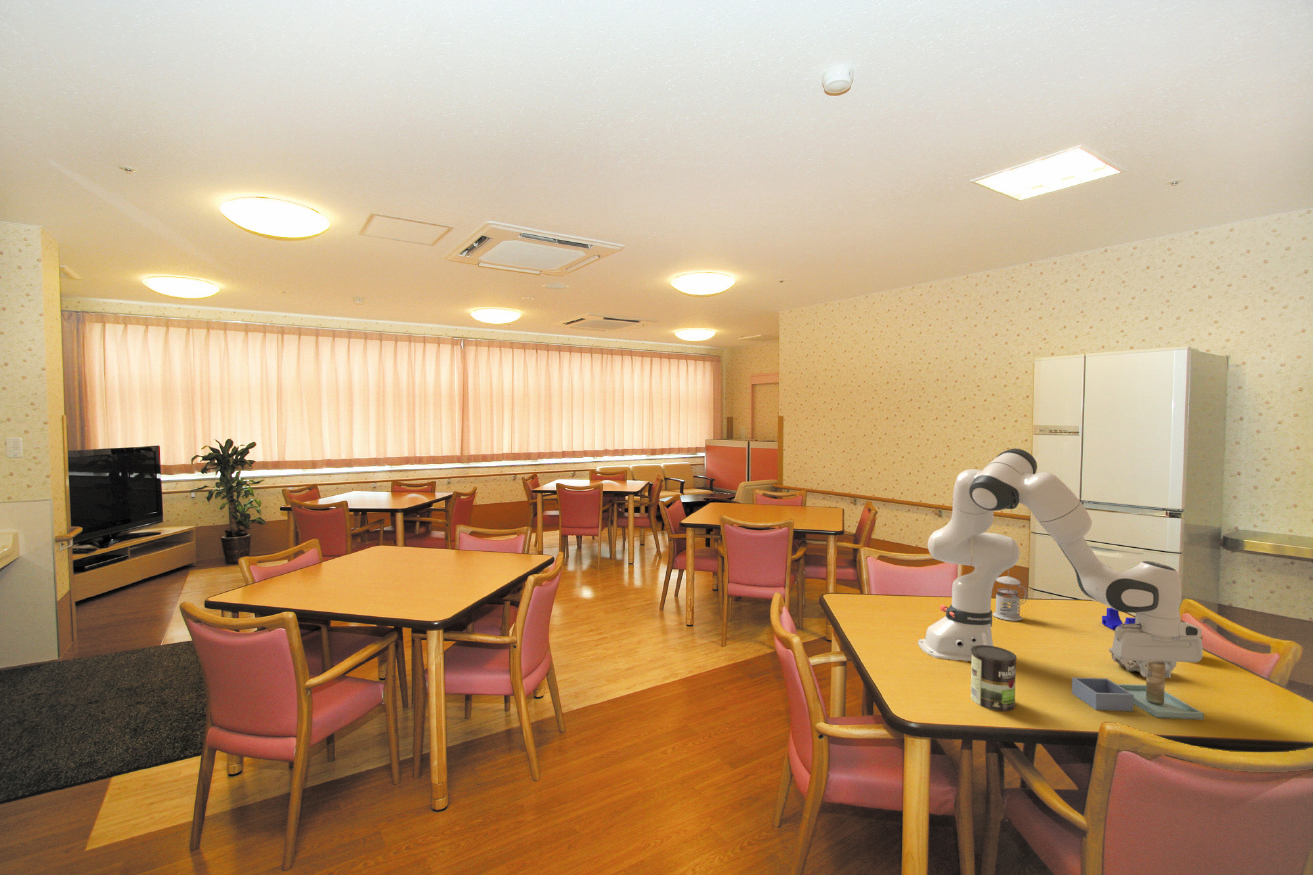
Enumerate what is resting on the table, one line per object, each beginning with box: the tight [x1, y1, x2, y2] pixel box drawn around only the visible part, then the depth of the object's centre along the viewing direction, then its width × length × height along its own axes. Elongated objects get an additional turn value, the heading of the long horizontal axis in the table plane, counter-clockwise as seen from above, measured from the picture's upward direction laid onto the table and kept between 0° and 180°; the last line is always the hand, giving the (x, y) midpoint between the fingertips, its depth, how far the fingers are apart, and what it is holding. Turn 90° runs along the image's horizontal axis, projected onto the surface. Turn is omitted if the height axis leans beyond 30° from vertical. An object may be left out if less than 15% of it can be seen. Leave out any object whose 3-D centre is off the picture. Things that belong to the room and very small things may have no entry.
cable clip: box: [1101, 607, 1135, 631], centre depth 205 cm, size 12×4×6 cm, turn 172°
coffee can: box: [970, 645, 1017, 712], centre depth 150 cm, size 10×10×14 cm
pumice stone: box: [1108, 647, 1166, 673], centre depth 170 cm, size 14×12×8 cm
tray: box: [1116, 683, 1205, 721], centre depth 150 cm, size 11×15×2 cm
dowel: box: [1145, 661, 1166, 704], centre depth 150 cm, size 4×4×10 cm
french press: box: [992, 568, 1029, 622], centre depth 218 cm, size 10×12×25 cm
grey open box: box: [1071, 677, 1135, 712], centre depth 151 cm, size 9×9×5 cm
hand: (1155, 676), depth 150 cm, fingers closed on dowel, 3 cm apart
